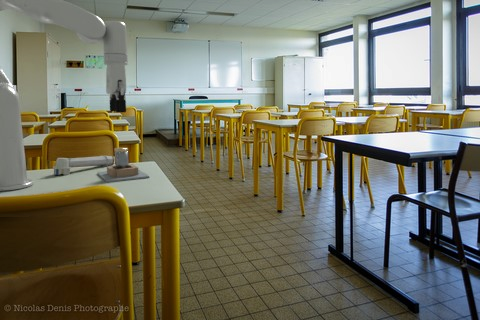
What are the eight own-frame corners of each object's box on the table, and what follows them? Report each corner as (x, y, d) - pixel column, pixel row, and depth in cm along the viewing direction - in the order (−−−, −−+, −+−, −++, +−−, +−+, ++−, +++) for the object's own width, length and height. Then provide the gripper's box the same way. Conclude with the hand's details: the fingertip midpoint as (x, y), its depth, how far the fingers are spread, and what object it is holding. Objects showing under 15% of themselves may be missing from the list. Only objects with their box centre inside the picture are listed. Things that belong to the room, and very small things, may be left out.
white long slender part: (115, 155, 158) (59, 156, 137) (114, 172, 159) (58, 175, 137) (106, 154, 161) (50, 154, 139) (105, 171, 161) (49, 173, 140)
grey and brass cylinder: (117, 175, 135) (116, 149, 133) (114, 173, 139) (113, 148, 137) (130, 174, 137) (129, 148, 135) (127, 172, 141) (125, 147, 139)
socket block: (106, 182, 128) (106, 173, 127) (97, 173, 141) (96, 165, 141) (149, 177, 134) (148, 168, 134) (136, 169, 148) (136, 161, 148)
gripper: (99, 61, 138) (101, 110, 141) (109, 57, 123) (111, 112, 126) (121, 62, 142) (123, 110, 144) (133, 58, 127) (135, 112, 129)
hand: (117, 111), depth 135 cm, fingers open, 9 cm apart
